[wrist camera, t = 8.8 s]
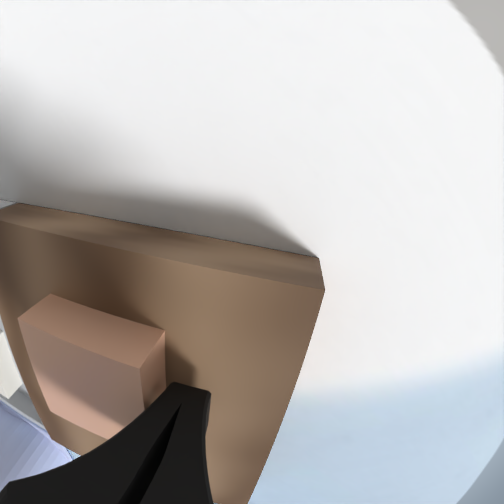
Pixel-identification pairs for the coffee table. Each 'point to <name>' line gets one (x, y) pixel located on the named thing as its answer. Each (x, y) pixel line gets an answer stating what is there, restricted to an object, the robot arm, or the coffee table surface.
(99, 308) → the board
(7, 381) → the tile white
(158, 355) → the tile terracotta
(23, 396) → the tray
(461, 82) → the coffee table surface
